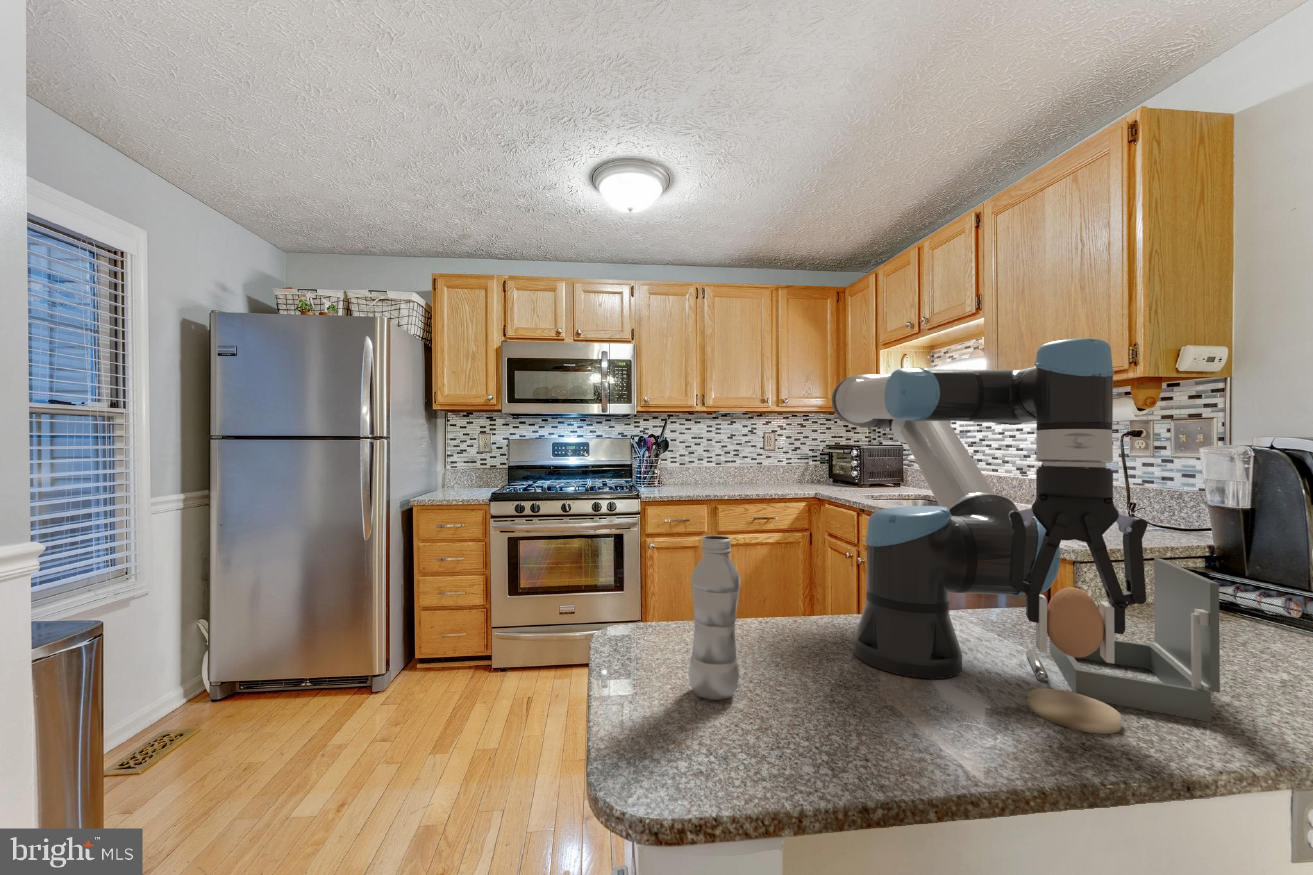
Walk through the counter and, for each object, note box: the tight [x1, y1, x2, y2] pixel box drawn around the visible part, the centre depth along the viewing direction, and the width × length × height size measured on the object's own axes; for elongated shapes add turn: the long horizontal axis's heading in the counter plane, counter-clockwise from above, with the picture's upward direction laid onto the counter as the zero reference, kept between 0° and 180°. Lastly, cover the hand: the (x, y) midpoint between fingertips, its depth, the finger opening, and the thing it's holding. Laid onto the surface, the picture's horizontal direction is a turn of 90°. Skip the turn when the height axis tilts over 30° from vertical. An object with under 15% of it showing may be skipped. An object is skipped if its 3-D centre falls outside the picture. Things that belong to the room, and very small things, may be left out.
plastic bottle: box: [688, 535, 741, 701], centre depth 69 cm, size 6×7×20 cm
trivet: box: [1027, 688, 1122, 735], centre depth 65 cm, size 9×9×1 cm
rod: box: [1025, 649, 1049, 682], centre depth 80 cm, size 1×11×1 cm, turn 152°
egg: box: [1047, 586, 1104, 658], centre depth 66 cm, size 6×6×8 cm
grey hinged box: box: [1049, 557, 1221, 723], centre depth 76 cm, size 14×19×17 cm
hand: (1073, 653), depth 66 cm, fingers closed on egg, 6 cm apart
